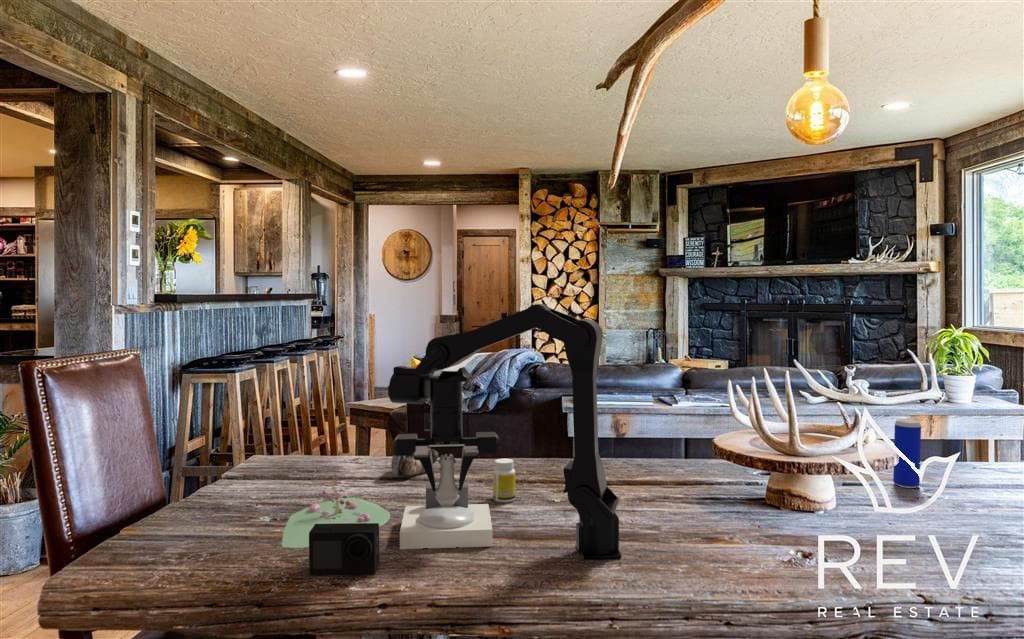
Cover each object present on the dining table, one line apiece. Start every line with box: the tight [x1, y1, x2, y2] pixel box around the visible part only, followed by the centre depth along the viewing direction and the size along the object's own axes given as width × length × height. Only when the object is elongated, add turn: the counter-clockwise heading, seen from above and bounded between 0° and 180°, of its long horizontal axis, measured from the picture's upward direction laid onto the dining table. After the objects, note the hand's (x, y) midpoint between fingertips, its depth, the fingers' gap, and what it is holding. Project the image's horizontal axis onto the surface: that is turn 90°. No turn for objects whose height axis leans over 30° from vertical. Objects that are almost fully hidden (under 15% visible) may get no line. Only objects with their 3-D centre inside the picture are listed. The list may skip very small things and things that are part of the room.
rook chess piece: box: [435, 453, 460, 503], centre depth 123 cm, size 4×4×8 cm
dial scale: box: [399, 483, 493, 550], centre depth 124 cm, size 16×14×7 cm
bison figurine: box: [390, 449, 439, 477], centre depth 164 cm, size 12×7×10 cm
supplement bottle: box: [492, 458, 516, 503], centre depth 144 cm, size 5×5×8 cm
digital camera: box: [308, 523, 380, 576], centre depth 108 cm, size 10×5×7 cm, turn 92°
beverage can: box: [892, 418, 922, 489], centre depth 154 cm, size 5×5×15 cm
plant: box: [281, 474, 391, 549], centre depth 129 cm, size 25×21×9 cm
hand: (447, 490), depth 123 cm, fingers closed on rook chess piece, 4 cm apart
